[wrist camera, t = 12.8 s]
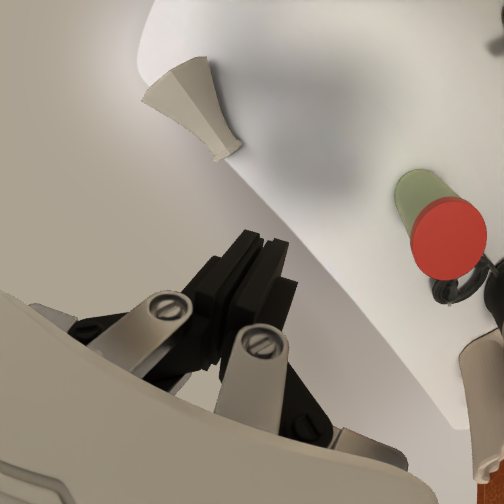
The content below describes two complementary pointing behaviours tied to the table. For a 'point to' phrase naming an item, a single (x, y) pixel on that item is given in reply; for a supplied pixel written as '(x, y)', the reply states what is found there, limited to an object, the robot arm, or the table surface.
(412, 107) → the table surface
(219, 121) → the flask
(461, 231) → the storage tub
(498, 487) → the book
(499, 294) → the milk frother
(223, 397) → the robot arm
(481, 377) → the candle
